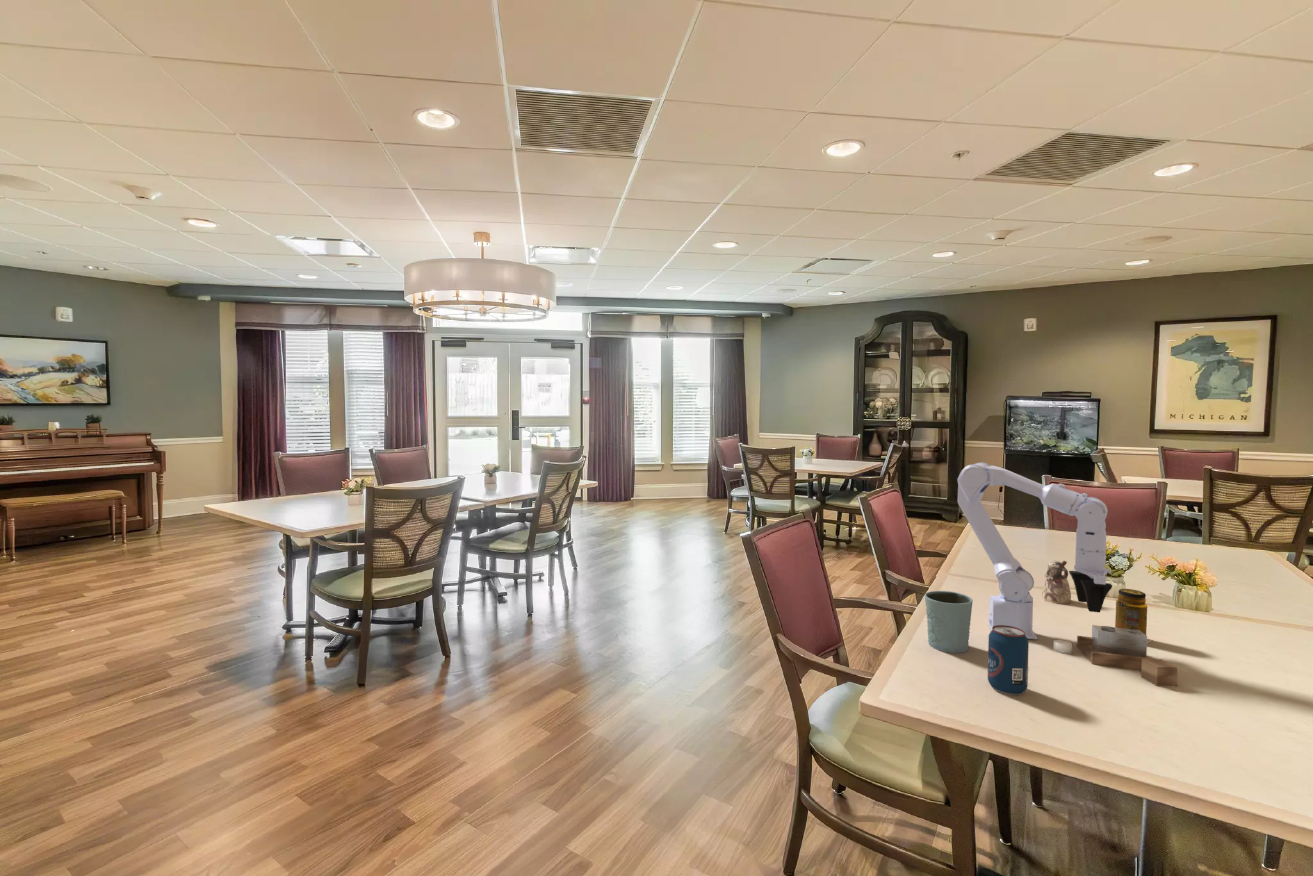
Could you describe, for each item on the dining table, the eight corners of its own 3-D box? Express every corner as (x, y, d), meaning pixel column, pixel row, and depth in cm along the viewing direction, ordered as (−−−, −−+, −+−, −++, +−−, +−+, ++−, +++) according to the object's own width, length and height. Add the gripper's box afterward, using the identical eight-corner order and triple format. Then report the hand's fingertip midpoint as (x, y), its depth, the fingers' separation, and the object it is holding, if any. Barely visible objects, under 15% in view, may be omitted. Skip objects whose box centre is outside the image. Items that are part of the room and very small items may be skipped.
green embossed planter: (976, 646, 141) (978, 596, 141) (964, 658, 134) (965, 606, 133) (932, 635, 148) (933, 588, 148) (917, 646, 141) (918, 597, 140)
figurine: (1037, 596, 181) (1038, 557, 180) (1062, 597, 180) (1063, 558, 179) (1049, 603, 173) (1050, 563, 173) (1075, 604, 172) (1077, 564, 172)
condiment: (1152, 641, 145) (1154, 592, 144) (1140, 648, 140) (1141, 598, 140) (1117, 632, 151) (1118, 585, 150) (1103, 638, 146) (1105, 590, 146)
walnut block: (1156, 686, 121) (1157, 667, 120) (1141, 677, 125) (1141, 659, 124) (1176, 686, 120) (1177, 667, 120) (1160, 678, 124) (1161, 659, 124)
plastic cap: (1055, 653, 138) (1055, 644, 138) (1051, 647, 141) (1051, 639, 141) (1074, 655, 136) (1074, 646, 136) (1069, 649, 140) (1069, 641, 140)
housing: (1146, 660, 130) (1147, 634, 130) (1097, 654, 134) (1098, 629, 133) (1138, 653, 134) (1139, 628, 134) (1091, 648, 137) (1092, 623, 137)
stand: (1092, 663, 131) (1092, 652, 131) (1077, 645, 141) (1077, 635, 141) (1159, 672, 127) (1159, 660, 127) (1138, 653, 137) (1138, 642, 137)
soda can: (980, 680, 123) (982, 623, 122) (1014, 681, 123) (1016, 624, 122) (999, 696, 116) (1000, 636, 115) (1035, 697, 116) (1036, 636, 115)
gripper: (1122, 558, 131) (1120, 618, 132) (1100, 544, 145) (1098, 599, 145) (1084, 555, 134) (1083, 614, 134) (1066, 542, 147) (1064, 596, 148)
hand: (1088, 606), depth 140 cm, fingers open, 7 cm apart
